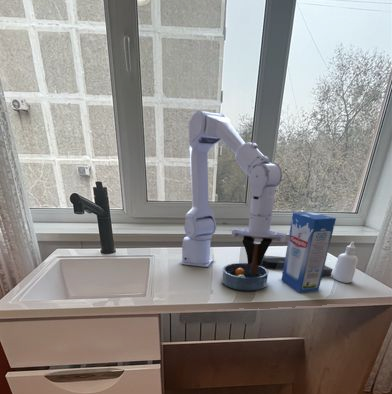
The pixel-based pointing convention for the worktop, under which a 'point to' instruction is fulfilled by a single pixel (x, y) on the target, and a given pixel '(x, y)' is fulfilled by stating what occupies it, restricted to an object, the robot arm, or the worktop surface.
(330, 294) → the worktop surface
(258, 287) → the bowl
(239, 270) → the bead
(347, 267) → the eye dropper bottle
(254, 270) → the stirring stick
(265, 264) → the pistol
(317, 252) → the milk carton
